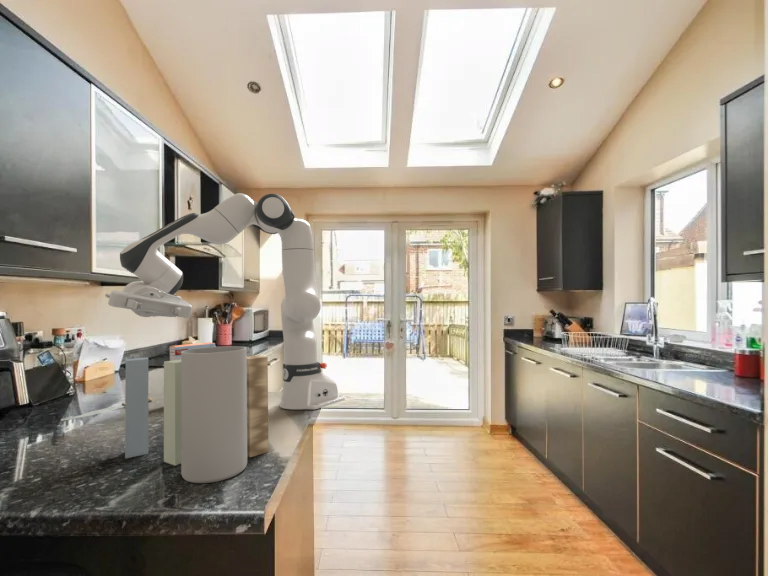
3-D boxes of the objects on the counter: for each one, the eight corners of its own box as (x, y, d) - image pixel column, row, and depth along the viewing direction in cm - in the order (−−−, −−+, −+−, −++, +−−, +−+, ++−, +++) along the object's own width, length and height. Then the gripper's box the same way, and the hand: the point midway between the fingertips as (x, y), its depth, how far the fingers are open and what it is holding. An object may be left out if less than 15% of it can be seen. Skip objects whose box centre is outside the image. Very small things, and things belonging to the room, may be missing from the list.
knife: (65, 421, 118) (58, 416, 121) (65, 426, 118) (58, 421, 121) (155, 399, 141) (148, 396, 144) (155, 403, 141) (148, 400, 144)
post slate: (147, 448, 94) (147, 357, 95) (148, 453, 91) (148, 359, 91) (125, 452, 92) (125, 359, 93) (125, 458, 88) (125, 361, 89)
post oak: (260, 447, 93) (259, 355, 94) (268, 451, 90) (267, 356, 91) (241, 452, 90) (240, 357, 91) (249, 457, 87) (249, 358, 88)
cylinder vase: (178, 490, 72) (178, 355, 73) (183, 465, 83) (183, 348, 84) (249, 477, 77) (248, 350, 78) (245, 455, 88) (244, 345, 89)
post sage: (183, 454, 90) (183, 358, 90) (194, 458, 87) (194, 360, 88) (163, 461, 86) (163, 361, 87) (175, 465, 83) (175, 362, 84)
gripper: (107, 282, 105) (115, 289, 95) (185, 297, 119) (200, 305, 109) (100, 305, 105) (108, 314, 95) (180, 317, 119) (194, 326, 109)
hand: (158, 309), depth 102 cm, fingers open, 8 cm apart
